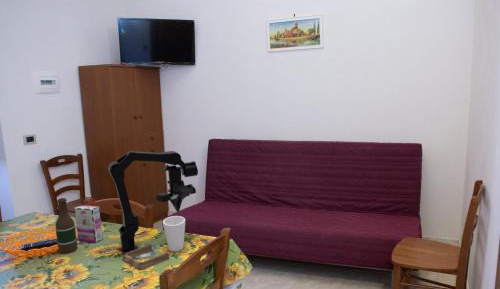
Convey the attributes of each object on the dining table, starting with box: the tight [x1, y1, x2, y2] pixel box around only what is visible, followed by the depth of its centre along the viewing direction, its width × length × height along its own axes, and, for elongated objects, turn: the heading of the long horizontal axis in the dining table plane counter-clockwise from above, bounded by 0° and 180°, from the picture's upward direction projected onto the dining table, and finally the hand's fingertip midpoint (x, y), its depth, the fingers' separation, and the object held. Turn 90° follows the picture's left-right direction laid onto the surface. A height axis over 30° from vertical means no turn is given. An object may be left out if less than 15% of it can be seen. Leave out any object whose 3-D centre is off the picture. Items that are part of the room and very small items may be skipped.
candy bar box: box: [74, 204, 104, 244], centre depth 186 cm, size 11×5×16 cm, turn 68°
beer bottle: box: [54, 197, 78, 255], centre depth 174 cm, size 8×8×24 cm
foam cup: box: [162, 215, 186, 253], centre depth 170 cm, size 10×9×13 cm
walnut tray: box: [121, 243, 170, 271], centre depth 163 cm, size 14×13×2 cm
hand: (177, 211), depth 182 cm, fingers closed
